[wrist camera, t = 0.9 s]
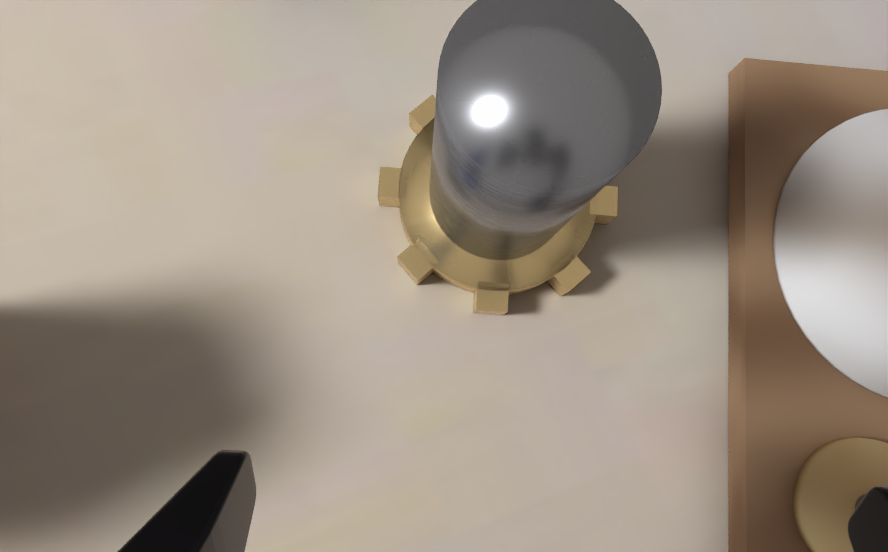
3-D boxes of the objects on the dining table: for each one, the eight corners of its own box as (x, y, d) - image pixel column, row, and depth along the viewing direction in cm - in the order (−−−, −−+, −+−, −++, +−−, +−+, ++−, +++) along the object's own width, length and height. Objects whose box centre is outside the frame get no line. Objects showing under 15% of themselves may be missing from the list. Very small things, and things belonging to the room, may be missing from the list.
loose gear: (603, 322, 23) (741, 288, 13) (370, 305, 22) (336, 256, 13) (610, 103, 24) (740, -75, 14) (390, 83, 24) (373, -111, 14)
